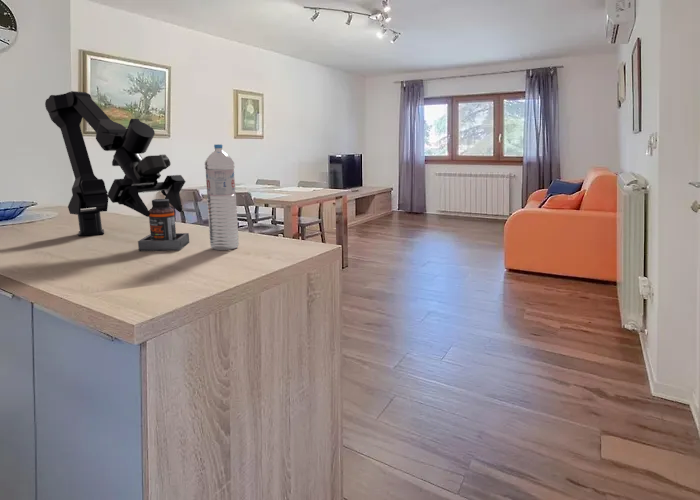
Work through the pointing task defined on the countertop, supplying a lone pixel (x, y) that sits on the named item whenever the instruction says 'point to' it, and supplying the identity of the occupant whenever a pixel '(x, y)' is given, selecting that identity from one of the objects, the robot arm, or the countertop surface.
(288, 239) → the countertop surface
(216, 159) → the water bottle
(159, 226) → the supplement bottle
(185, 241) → the tray
